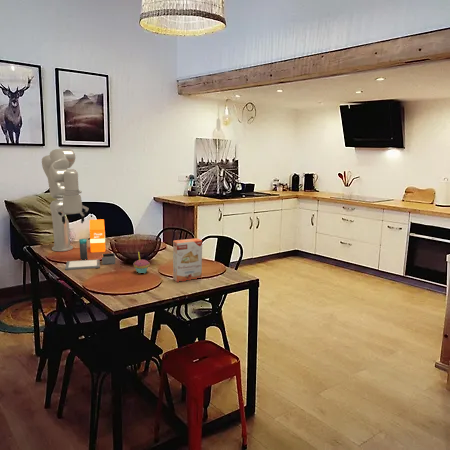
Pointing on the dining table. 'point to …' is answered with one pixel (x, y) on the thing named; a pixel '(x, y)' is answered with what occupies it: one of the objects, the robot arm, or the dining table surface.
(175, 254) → the cracker box
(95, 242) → the orange juice
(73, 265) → the writing board
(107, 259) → the grey square block
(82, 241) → the marker
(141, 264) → the cupcake
